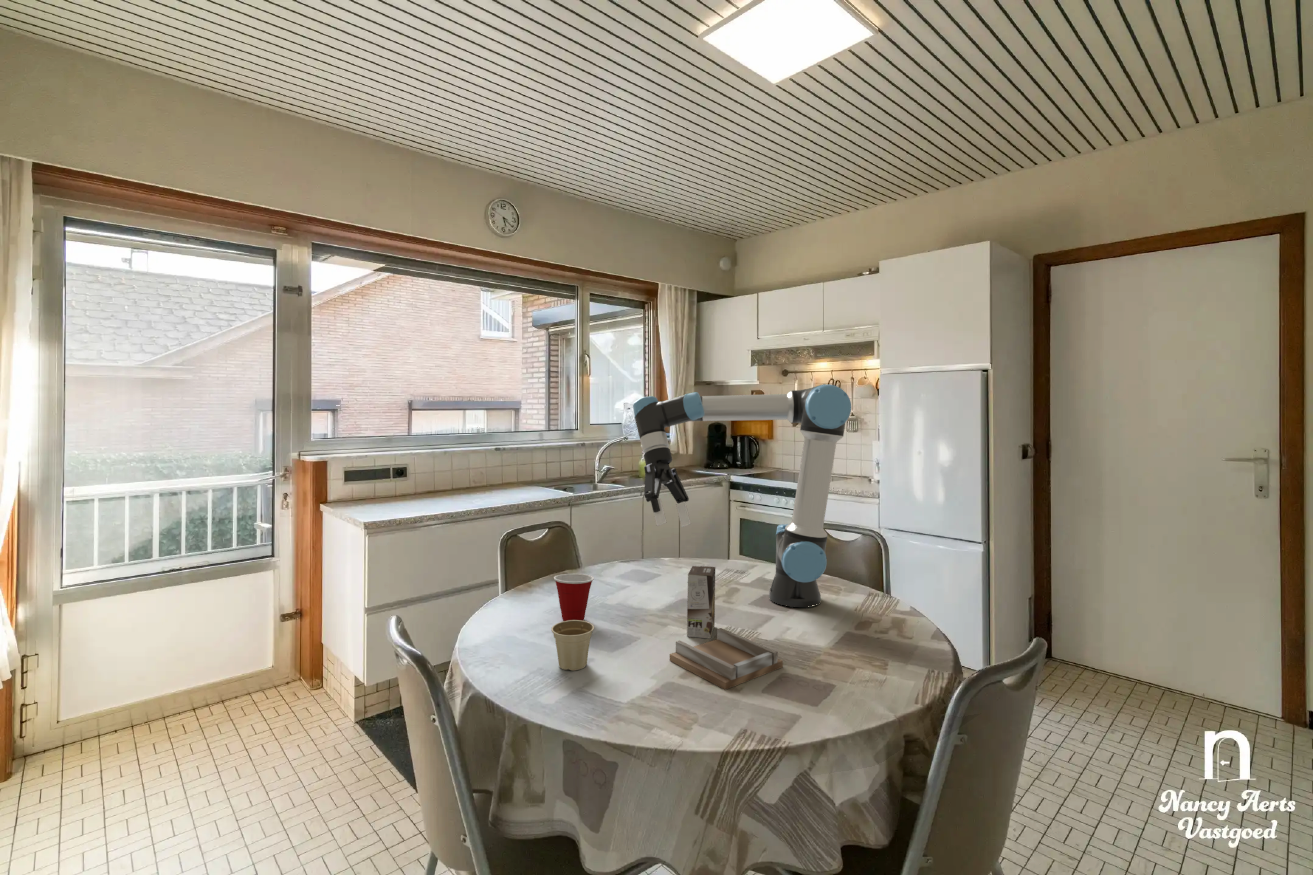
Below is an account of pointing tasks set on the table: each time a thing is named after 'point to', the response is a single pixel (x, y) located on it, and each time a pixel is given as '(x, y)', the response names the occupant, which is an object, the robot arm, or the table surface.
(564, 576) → the plastic cup
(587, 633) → the flower pot
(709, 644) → the rail holder
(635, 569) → the table surface
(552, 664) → the table surface
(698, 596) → the coffee box
